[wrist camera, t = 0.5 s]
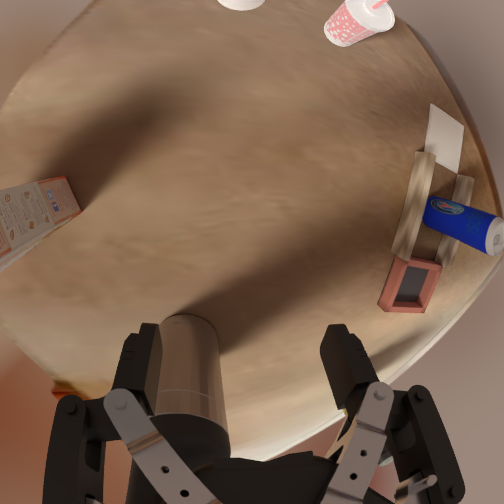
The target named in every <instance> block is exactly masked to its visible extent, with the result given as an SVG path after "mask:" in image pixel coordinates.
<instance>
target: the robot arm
mask: <svg viewBox="0 0 504 504" xmlns="http://www.w3.org/2000/svg"><path fill="white" fill-rule="evenodd" d="M320 356H321V359H322V362H323V365H324V368H325V371H326V374H327V377H328V380H329V383H330V386H331V389H332V393H333V396H334V399H335V402H336V405H337V408H338V410H340V409H345V408H346V411H347V416H346V418H345V420H344V423H343V425H342V427H341V429H340V431H339V433H338V435H337V437H336V440H335V442H334V444H333V445H332V447H331V448H330V450H329V451H328V453H327V454H326V456H325V457H324V458H323V457H320V456H313V452H312V451H307V452H300V453H292V454H288V455H285V456H282V457H279V458H276V459H273V460H270V461H266V462H262V461H255V460H249V459H243V458H230V455H231V449H230V442H229V434H228V426H227V419H226V412H225V403H224V395H223V386H222V377H221V367H220V356H219V346H218V337H217V334H216V331H215V330H214V328H213V327H212V326H211V325H210V324H209V323H208V322H207V321H205V320H204V319H202V318H199V317H197V316H193V315H185V314H182V315H175V316H172V317H169V318H167V319H166V320H164V321H163V322H162V323H161V324H160V325H158V324H153V323H142V324H141V327H140V331H139V334H136V333H131V334H130V335H129V336H128V338H127V339H126V340H125V341H124V345H123V348H122V352H121V356H120V360H119V363H118V367H117V371H116V375H115V379H114V383H113V386H112V389H111V390H110V392H109V393H107V395H106V396H104V397H102V398H99V399H92V400H84V401H83V400H82V399H81V398H80V397H79V396H76V395H66V396H64V397H62V398H61V399H60V400H59V402H58V404H57V408H56V412H55V416H54V421H53V426H52V431H51V436H50V442H49V447H48V453H47V460H46V468H45V477H44V486H43V501H42V504H104V503H103V480H104V461H105V448H106V441H113V440H121V439H122V440H123V441H124V443H125V445H126V446H127V448H128V451H129V452H130V454H131V456H132V465H131V471H130V477H129V484H128V491H127V496H126V502H125V504H458V503H459V502H460V501H461V500H462V499H463V497H464V494H465V485H464V481H463V478H462V475H461V472H460V469H459V466H458V463H457V460H456V457H455V454H454V451H453V449H452V446H451V443H450V440H449V438H448V435H447V432H446V430H445V427H444V425H443V422H442V420H441V417H440V415H439V413H438V410H437V408H436V405H435V403H434V401H433V399H432V396H431V394H430V392H429V391H428V390H427V389H426V388H425V387H424V386H421V385H414V386H412V387H411V388H410V389H409V390H408V391H398V390H392V388H391V387H390V386H389V385H387V384H386V383H383V382H380V381H379V379H378V377H377V375H376V372H375V370H374V368H373V366H372V364H371V362H370V359H369V357H367V353H366V351H365V350H364V347H363V344H362V342H361V340H360V339H359V338H358V337H357V336H356V335H355V334H354V333H352V334H350V333H349V331H348V329H347V327H346V325H345V324H332V325H329V326H328V328H327V330H326V333H325V335H324V338H323V340H322V343H321V346H320ZM384 430H385V432H384ZM386 438H387V439H388V443H389V446H390V449H391V453H392V456H393V460H394V463H395V467H396V471H397V474H398V478H399V482H400V484H399V485H398V487H397V489H396V493H395V494H394V497H395V499H396V500H395V503H393V502H391V501H390V500H388V499H386V498H385V497H384V496H382V495H380V494H379V493H377V492H376V491H374V490H373V489H371V488H370V487H368V486H369V484H370V481H371V479H372V476H373V474H374V472H375V469H376V466H377V464H378V461H379V459H380V456H381V453H382V450H383V447H384V444H385V441H386Z"/></svg>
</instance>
